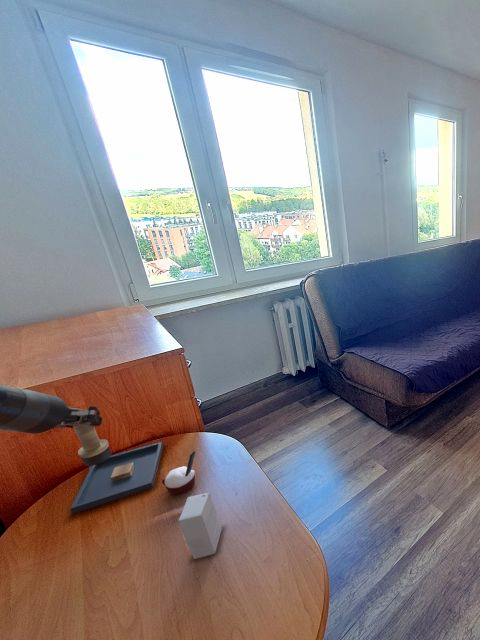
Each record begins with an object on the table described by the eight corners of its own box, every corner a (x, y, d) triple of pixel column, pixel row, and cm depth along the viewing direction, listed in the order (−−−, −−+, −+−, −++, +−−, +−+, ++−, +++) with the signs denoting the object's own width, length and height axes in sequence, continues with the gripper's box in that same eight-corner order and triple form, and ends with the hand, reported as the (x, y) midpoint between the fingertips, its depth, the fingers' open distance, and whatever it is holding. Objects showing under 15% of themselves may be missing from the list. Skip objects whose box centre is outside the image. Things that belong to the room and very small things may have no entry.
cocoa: (160, 493, 86) (146, 458, 82) (184, 475, 92) (172, 441, 87) (186, 505, 83) (172, 468, 79) (209, 485, 89) (197, 450, 84)
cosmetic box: (201, 534, 76) (187, 496, 72) (222, 529, 77) (210, 491, 73) (192, 560, 71) (177, 521, 66) (215, 554, 72) (201, 515, 67)
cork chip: (112, 482, 89) (110, 477, 88) (116, 471, 92) (114, 467, 91) (131, 476, 90) (129, 472, 90) (134, 466, 94) (133, 462, 93)
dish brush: (79, 469, 77) (57, 424, 73) (87, 455, 82) (66, 411, 77) (108, 461, 80) (89, 416, 75) (114, 447, 84) (96, 404, 79)
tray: (73, 515, 80) (70, 508, 80) (96, 466, 95) (94, 460, 94) (153, 489, 88) (151, 482, 87) (164, 447, 102) (162, 441, 101)
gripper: (73, 387, 67) (127, 402, 82) (-16, 396, 64) (58, 411, 79) (64, 425, 64) (122, 434, 80) (-29, 437, 61) (50, 444, 76)
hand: (90, 422), depth 79 cm, fingers closed on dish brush, 3 cm apart
